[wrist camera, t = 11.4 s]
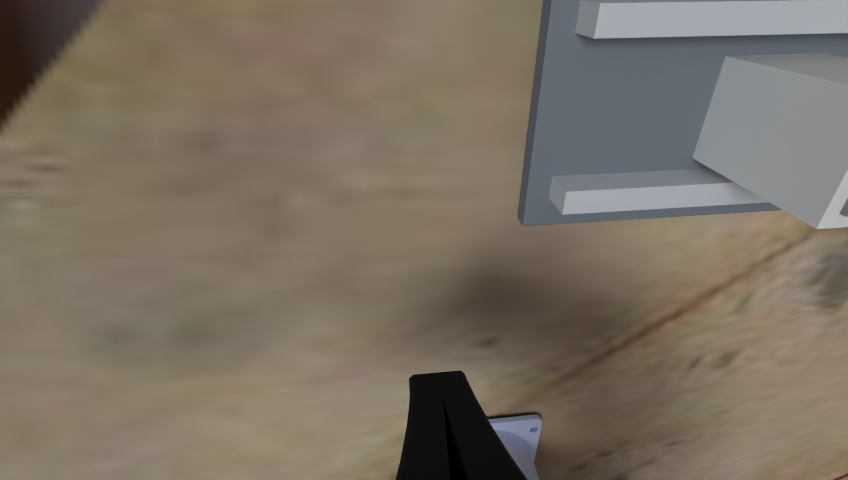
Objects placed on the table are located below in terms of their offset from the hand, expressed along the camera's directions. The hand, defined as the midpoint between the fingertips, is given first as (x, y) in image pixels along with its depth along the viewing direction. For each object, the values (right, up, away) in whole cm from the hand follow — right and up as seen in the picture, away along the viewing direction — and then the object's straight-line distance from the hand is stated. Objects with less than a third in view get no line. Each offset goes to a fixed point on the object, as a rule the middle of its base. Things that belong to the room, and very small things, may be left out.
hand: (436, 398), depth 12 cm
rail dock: (+13, +10, +7) cm, 18 cm away
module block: (+13, +9, +6) cm, 17 cm away
